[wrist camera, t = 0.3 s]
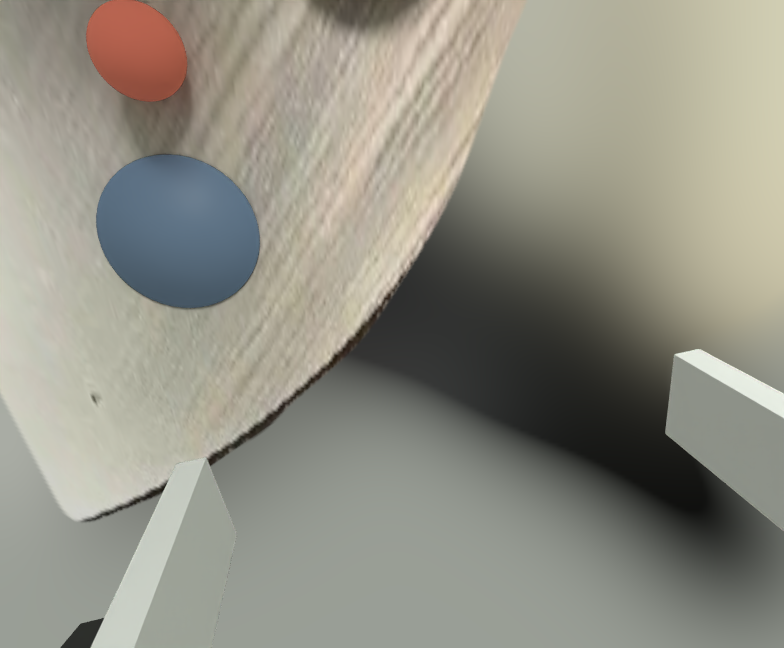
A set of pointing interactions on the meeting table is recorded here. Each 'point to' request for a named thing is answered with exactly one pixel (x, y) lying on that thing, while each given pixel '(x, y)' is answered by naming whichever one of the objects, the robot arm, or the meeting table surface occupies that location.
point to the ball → (136, 50)
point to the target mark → (178, 231)
